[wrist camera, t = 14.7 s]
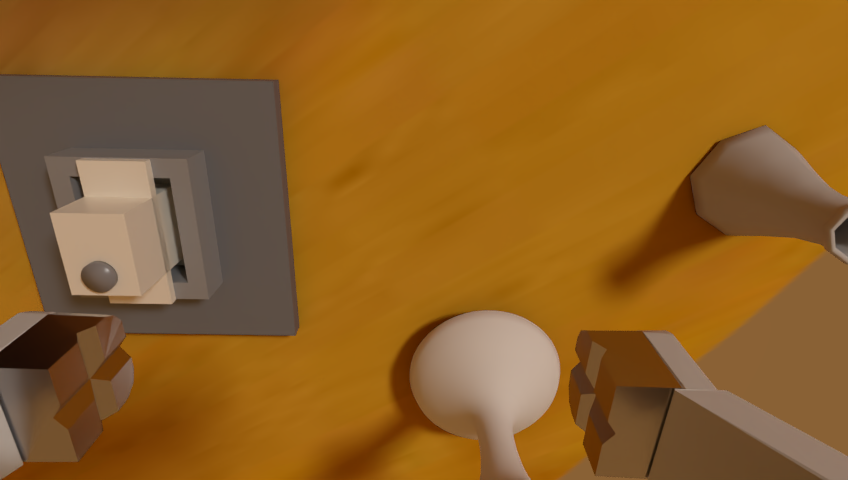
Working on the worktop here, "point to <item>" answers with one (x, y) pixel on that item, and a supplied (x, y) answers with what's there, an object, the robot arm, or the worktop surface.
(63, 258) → the block
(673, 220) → the worktop surface
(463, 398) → the flower in vase
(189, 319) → the plate
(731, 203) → the flask
